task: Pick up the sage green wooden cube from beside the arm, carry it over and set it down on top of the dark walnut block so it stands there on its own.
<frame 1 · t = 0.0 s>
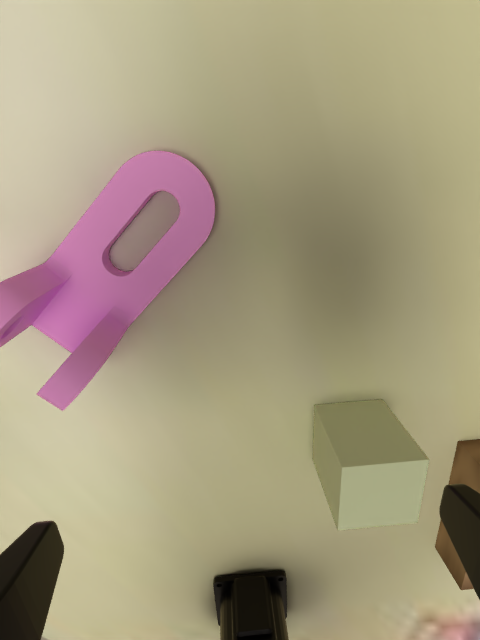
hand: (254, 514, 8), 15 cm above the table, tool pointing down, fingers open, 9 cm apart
bracket: (126, 254, 20), on the table
sage cube: (345, 429, 26), on the table
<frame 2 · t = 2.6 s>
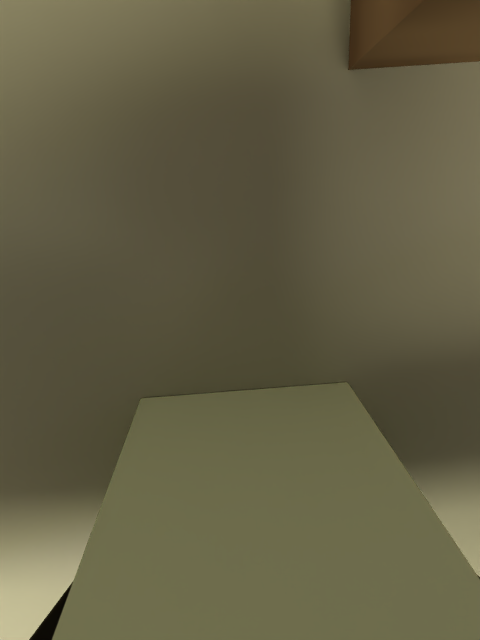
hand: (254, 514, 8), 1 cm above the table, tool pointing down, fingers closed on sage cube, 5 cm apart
sage cube: (249, 470, 9), on the table, touching gripper
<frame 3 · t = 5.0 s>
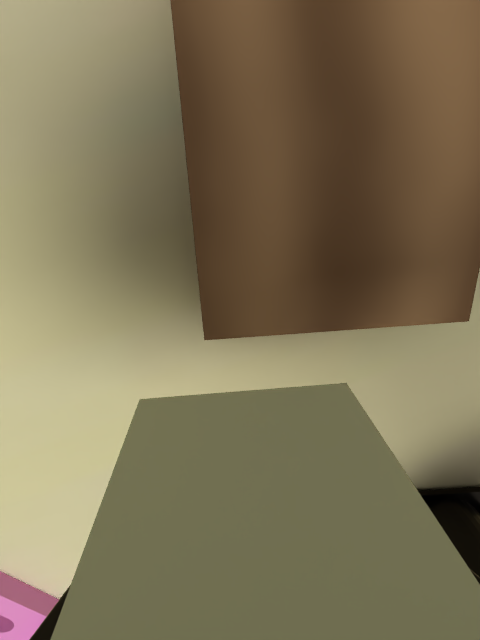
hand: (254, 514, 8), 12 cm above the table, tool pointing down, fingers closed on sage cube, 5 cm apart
bracket: (12, 600, 26), on the table
sage cube: (248, 470, 9), point 10 cm above the table, touching gripper
walnut block: (318, 165, 17), on the table
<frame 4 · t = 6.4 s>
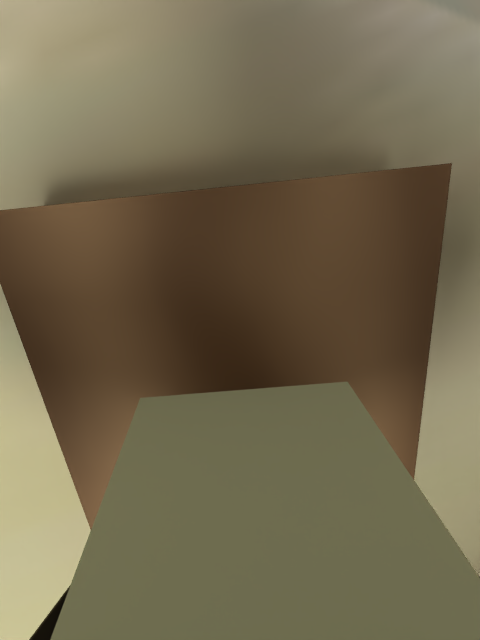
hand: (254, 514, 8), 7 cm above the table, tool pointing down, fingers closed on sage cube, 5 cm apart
sage cube: (249, 469, 9), point 6 cm above the table, touching gripper
walnut block: (236, 359, 15), on the table
when the fingers open (7 cm above the table, at t = 7.2 s): sage cube drops 2 cm, resting on walnut block.
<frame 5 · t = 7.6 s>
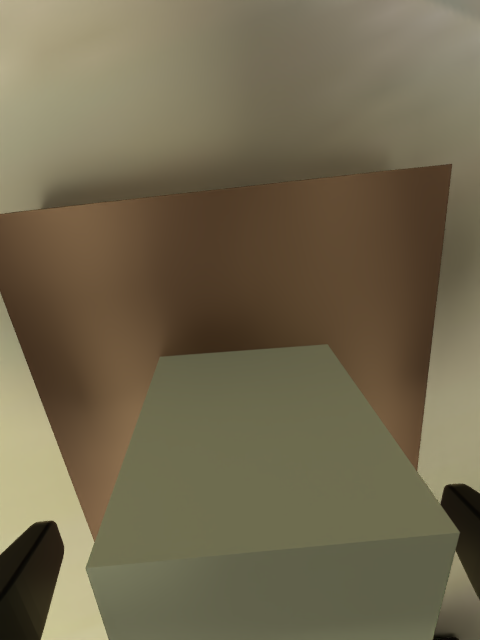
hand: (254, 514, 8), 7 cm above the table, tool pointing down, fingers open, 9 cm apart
sage cube: (248, 419, 11), point 3 cm above the table, touching walnut block
walnut block: (236, 361, 15), on the table, touching sage cube
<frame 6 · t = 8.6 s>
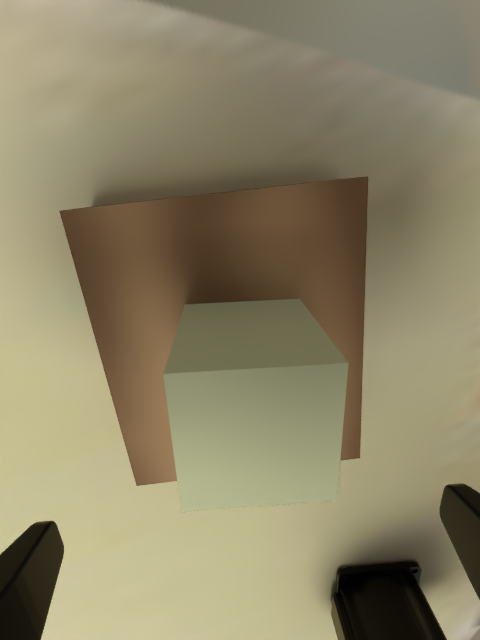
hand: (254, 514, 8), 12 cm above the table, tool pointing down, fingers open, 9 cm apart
sage cube: (244, 353, 16), point 3 cm above the table
walnut block: (231, 323, 19), on the table
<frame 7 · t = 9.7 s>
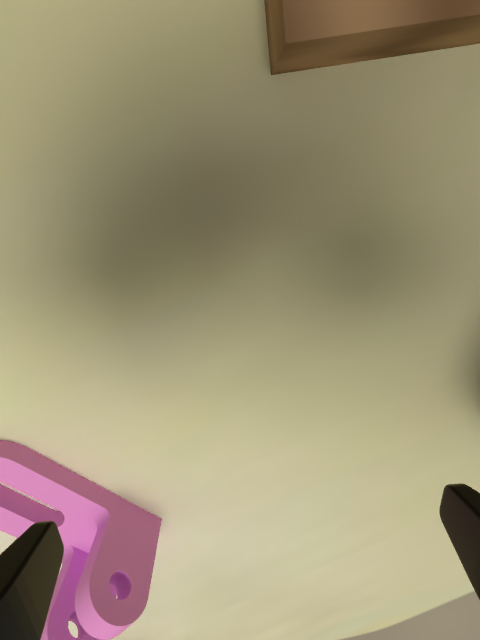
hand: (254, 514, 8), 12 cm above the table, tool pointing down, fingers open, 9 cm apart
bracket: (60, 496, 23), on the table
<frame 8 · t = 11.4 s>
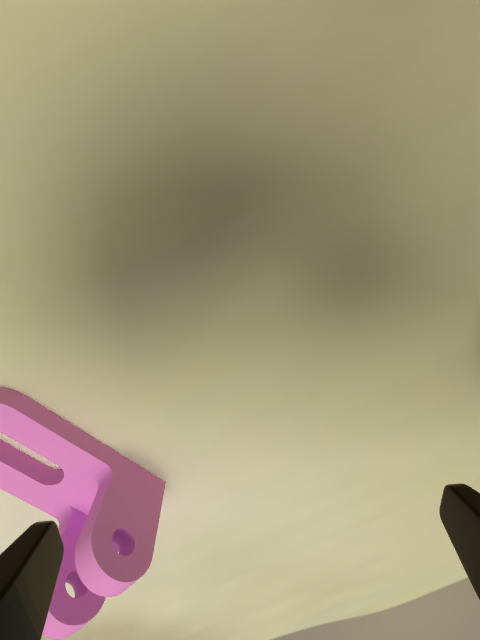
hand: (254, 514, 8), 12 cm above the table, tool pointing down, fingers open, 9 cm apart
bracket: (59, 454, 22), on the table
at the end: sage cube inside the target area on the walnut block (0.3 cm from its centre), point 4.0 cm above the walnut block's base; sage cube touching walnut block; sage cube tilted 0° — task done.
